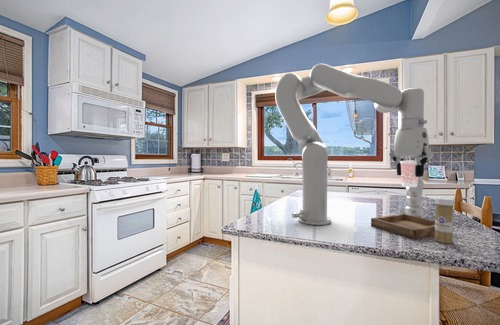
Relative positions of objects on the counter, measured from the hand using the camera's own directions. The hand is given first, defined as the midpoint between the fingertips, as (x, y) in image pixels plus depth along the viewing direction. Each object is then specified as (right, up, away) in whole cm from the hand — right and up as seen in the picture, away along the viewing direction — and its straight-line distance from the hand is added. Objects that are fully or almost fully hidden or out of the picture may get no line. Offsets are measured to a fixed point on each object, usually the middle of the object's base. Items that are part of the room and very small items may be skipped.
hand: (409, 175), depth 90 cm
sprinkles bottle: (+3, -20, -12) cm, 23 cm away
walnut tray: (0, -19, +1) cm, 19 cm away
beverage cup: (0, -4, 0) cm, 4 cm away
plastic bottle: (+12, -19, +17) cm, 28 cm away
